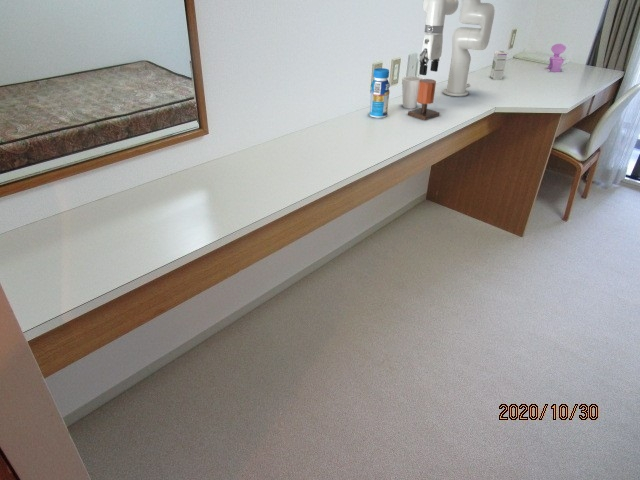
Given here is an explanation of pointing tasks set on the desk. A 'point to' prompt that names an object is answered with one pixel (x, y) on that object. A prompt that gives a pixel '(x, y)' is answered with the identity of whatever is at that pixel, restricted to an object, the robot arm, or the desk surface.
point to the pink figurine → (556, 58)
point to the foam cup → (410, 91)
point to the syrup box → (498, 64)
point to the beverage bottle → (379, 93)
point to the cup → (426, 91)
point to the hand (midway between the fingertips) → (428, 72)
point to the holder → (423, 113)
